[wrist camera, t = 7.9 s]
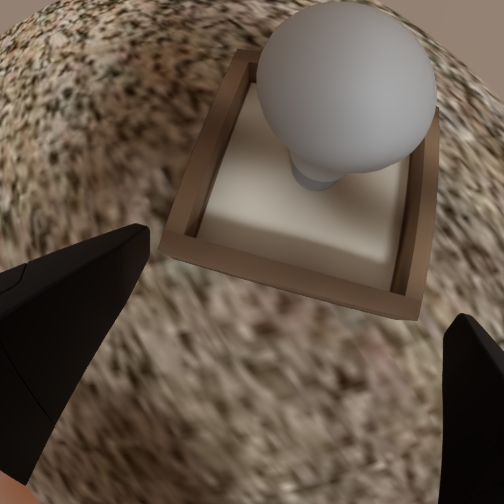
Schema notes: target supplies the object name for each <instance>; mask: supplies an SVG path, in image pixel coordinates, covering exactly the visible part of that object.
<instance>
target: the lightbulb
mask: <svg viewBox="0 0 504 504" xmlns="http://www.w3.org/2000/svg"><path fill="white" fill-rule="evenodd" d="M256 78H257V95H258V99H259V102H260V105H261V108H262V111H263V114H264V116H265V119H266V121H267V123H268V124H269V126H270V128H271V129H272V131H273V133H274V134H275V135H276V136H277V137H278V138H279V139H280V140H281V142H282V143H283V144H284V145H285V146H286V147H287V148H289V150H290V156H291V159H292V173H293V176H294V178H295V180H296V181H297V182H298V183H299V184H300V185H301V186H302V187H304V188H306V189H308V190H311V191H324V190H326V189H329V188H330V187H331V186H333V185H334V184H335V183H336V181H337V180H338V179H340V178H342V177H344V176H345V175H346V174H347V173H369V172H374V171H379V170H381V169H384V168H386V167H388V166H391V165H393V164H395V163H397V162H399V161H401V160H403V159H404V158H405V157H407V156H408V155H409V154H410V153H412V152H413V151H414V150H415V149H416V147H417V146H418V145H419V144H420V143H421V141H422V140H423V139H424V137H425V136H426V134H427V132H428V130H429V128H430V125H431V123H432V120H433V117H434V114H435V109H436V103H437V86H436V81H435V76H434V71H433V67H432V65H431V63H430V60H429V58H428V56H427V54H426V52H425V50H424V48H423V46H422V45H421V43H420V42H419V41H418V39H417V38H416V37H415V36H414V35H413V34H412V33H411V32H410V31H409V30H408V29H407V28H406V27H405V26H404V25H403V24H401V23H400V22H399V21H398V20H396V19H395V18H393V17H392V16H390V15H388V14H387V13H385V12H383V11H381V10H379V9H376V8H373V7H371V6H368V5H364V4H360V3H353V2H325V3H319V4H316V5H313V6H310V7H307V8H305V9H303V10H301V11H299V12H297V13H295V14H294V15H292V16H290V17H289V18H288V19H286V20H285V21H284V22H283V23H281V24H280V25H279V26H278V27H277V28H276V29H275V30H274V32H273V33H272V35H271V36H270V38H269V40H268V41H267V43H266V45H265V47H264V49H263V50H262V53H261V56H260V59H259V63H258V68H257V73H256Z"/></svg>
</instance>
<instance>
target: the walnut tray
mask: <svg viewBox="0 0 504 504" xmlns="http://www.w3.org/2000/svg"><path fill="white" fill-rule="evenodd" d="M260 56H261V53H260V52H254V51H248V50H242V49H237V51H236V53H235V55H234V57H233V60H232V62H231V64H230V66H229V68H228V70H227V72H226V75H225V77H224V79H223V81H222V83H221V86H220V88H219V90H218V92H217V95H216V97H215V99H214V101H213V104H212V106H211V108H210V111H209V113H208V115H207V118H206V120H205V122H204V125H203V127H202V130H201V132H200V135H199V137H198V139H197V142H196V144H195V147H194V150H193V152H192V155H191V157H190V160H189V162H188V165H187V168H186V170H185V173H184V175H183V178H182V181H181V184H180V186H179V189H178V192H177V195H176V197H175V200H174V203H173V206H172V209H171V211H170V214H169V217H168V220H167V223H166V226H165V229H164V232H163V235H162V238H161V241H160V244H159V247H158V250H160V251H161V252H163V253H165V254H166V255H168V256H170V257H171V258H173V259H176V260H180V261H183V262H186V263H190V264H193V265H197V266H200V267H203V268H207V269H210V270H214V271H217V272H221V273H224V274H228V275H231V276H235V277H238V278H242V279H245V280H249V281H252V282H256V283H259V284H263V285H266V286H270V287H274V288H277V289H281V290H285V291H288V292H292V293H295V294H299V295H303V296H307V297H310V298H314V299H318V300H321V301H325V302H329V303H333V304H337V305H340V306H344V307H348V308H352V309H356V310H360V311H364V312H367V313H371V314H375V315H379V316H383V317H387V318H391V319H395V320H413V321H418V317H419V312H420V308H421V303H422V298H423V293H424V288H425V283H426V277H427V271H428V265H429V259H430V253H431V246H432V238H433V230H434V221H435V212H436V201H437V188H438V170H439V107H437V106H436V109H435V114H434V117H433V120H432V123H431V125H430V128H429V130H428V132H427V134H426V136H425V137H424V139H423V140H422V141H421V143H420V144H419V145H418V146H417V147H416V149H415V150H414V151H413V152H412V153H410V154H409V155H408V156H407V157H405V158H404V159H403V160H401V161H399V162H397V163H395V164H393V165H391V166H388V167H386V168H384V169H381V170H379V171H374V172H369V173H347V174H346V175H345V176H344V177H342V178H340V179H338V180H337V181H336V183H335V184H334V185H333V186H331V187H330V188H329V189H326V190H324V191H311V190H308V189H306V188H304V187H302V186H301V185H300V184H299V183H298V182H297V181H296V180H295V178H294V176H293V173H292V159H291V156H290V150H289V148H287V147H286V146H285V145H284V144H283V143H282V142H281V140H280V139H279V138H278V137H277V136H276V135H275V134H274V133H273V131H272V129H271V128H270V126H269V124H268V123H267V121H266V119H265V116H264V114H263V111H262V108H261V105H260V102H259V99H258V95H257V78H256V73H257V68H258V63H259V59H260Z"/></svg>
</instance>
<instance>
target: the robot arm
mask: <svg viewBox="0 0 504 504" xmlns="http://www.w3.org/2000/svg"><path fill="white" fill-rule="evenodd" d="M149 255H150V230H149V228H148V227H147V226H144V225H141V224H137V223H134V224H131V225H128V226H125V227H122V228H119V229H116V230H113V231H110V232H108V233H105V234H102V235H99V236H96V237H93V238H90V239H88V240H85V241H82V242H79V243H77V244H74V245H71V246H68V247H66V248H63V249H60V250H58V251H55V252H52V253H50V254H47V255H45V256H42V257H39V258H37V259H34V260H32V261H29V262H28V263H24V264H21V265H19V266H17V267H14V268H12V269H9V270H6V271H4V272H1V273H0V470H1V471H2V472H4V473H5V474H7V475H8V476H10V477H11V478H13V479H15V480H16V481H18V482H20V483H21V484H23V485H25V486H26V484H27V483H28V481H29V479H30V476H31V474H32V472H33V470H34V468H35V466H36V464H37V461H38V459H39V457H40V455H41V453H42V451H43V449H44V447H45V445H46V443H47V441H48V439H49V437H50V435H51V433H52V431H53V429H54V427H55V425H56V423H57V421H58V419H59V417H60V416H61V414H62V412H63V410H64V408H65V406H66V404H67V402H68V401H69V399H70V397H71V395H72V393H73V392H74V390H75V388H76V386H77V384H78V383H79V381H80V379H81V377H82V376H83V374H84V372H85V370H86V369H87V367H88V365H89V363H90V362H91V360H92V358H93V357H94V355H95V353H96V352H97V350H98V348H99V347H100V345H101V343H102V342H103V340H104V338H105V337H106V335H107V333H108V332H109V330H110V328H111V327H112V325H113V324H114V322H115V320H116V319H117V317H118V316H119V314H120V312H121V311H122V309H123V308H124V306H125V304H126V303H127V301H128V299H129V297H130V295H131V293H132V291H133V289H134V287H135V285H136V283H137V281H138V279H139V277H140V275H141V273H142V271H143V269H144V267H145V265H146V263H147V261H148V259H149ZM442 398H443V442H442V464H441V478H440V489H439V498H438V504H504V351H503V350H502V349H501V348H500V347H499V345H498V344H497V343H496V342H495V341H494V340H493V339H492V337H491V336H490V335H489V334H488V333H487V332H486V331H485V330H484V328H483V327H482V326H481V325H480V324H479V323H478V322H477V321H476V320H475V319H474V318H473V317H472V316H471V315H468V314H464V313H460V314H459V315H457V317H456V318H455V319H454V321H453V322H452V324H451V325H450V326H449V328H448V329H447V330H446V332H445V334H444V337H443V372H442Z"/></svg>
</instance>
